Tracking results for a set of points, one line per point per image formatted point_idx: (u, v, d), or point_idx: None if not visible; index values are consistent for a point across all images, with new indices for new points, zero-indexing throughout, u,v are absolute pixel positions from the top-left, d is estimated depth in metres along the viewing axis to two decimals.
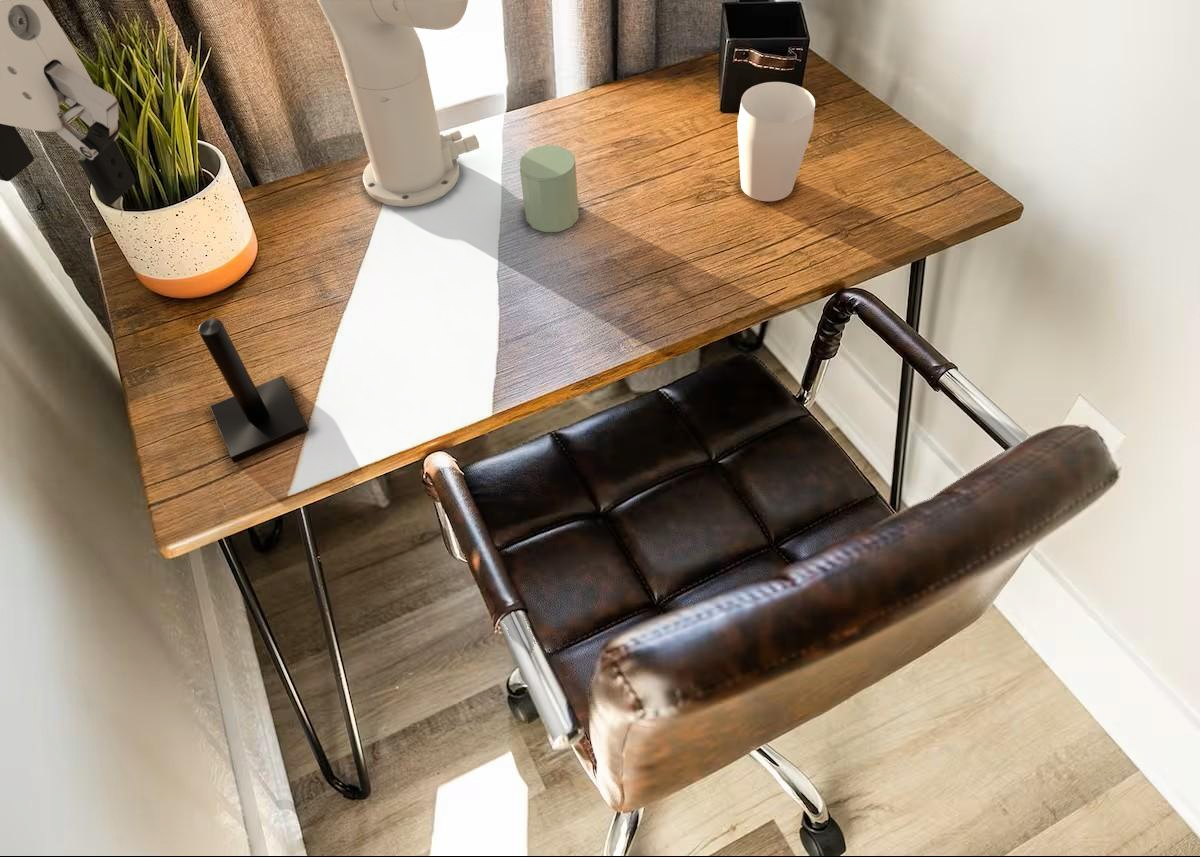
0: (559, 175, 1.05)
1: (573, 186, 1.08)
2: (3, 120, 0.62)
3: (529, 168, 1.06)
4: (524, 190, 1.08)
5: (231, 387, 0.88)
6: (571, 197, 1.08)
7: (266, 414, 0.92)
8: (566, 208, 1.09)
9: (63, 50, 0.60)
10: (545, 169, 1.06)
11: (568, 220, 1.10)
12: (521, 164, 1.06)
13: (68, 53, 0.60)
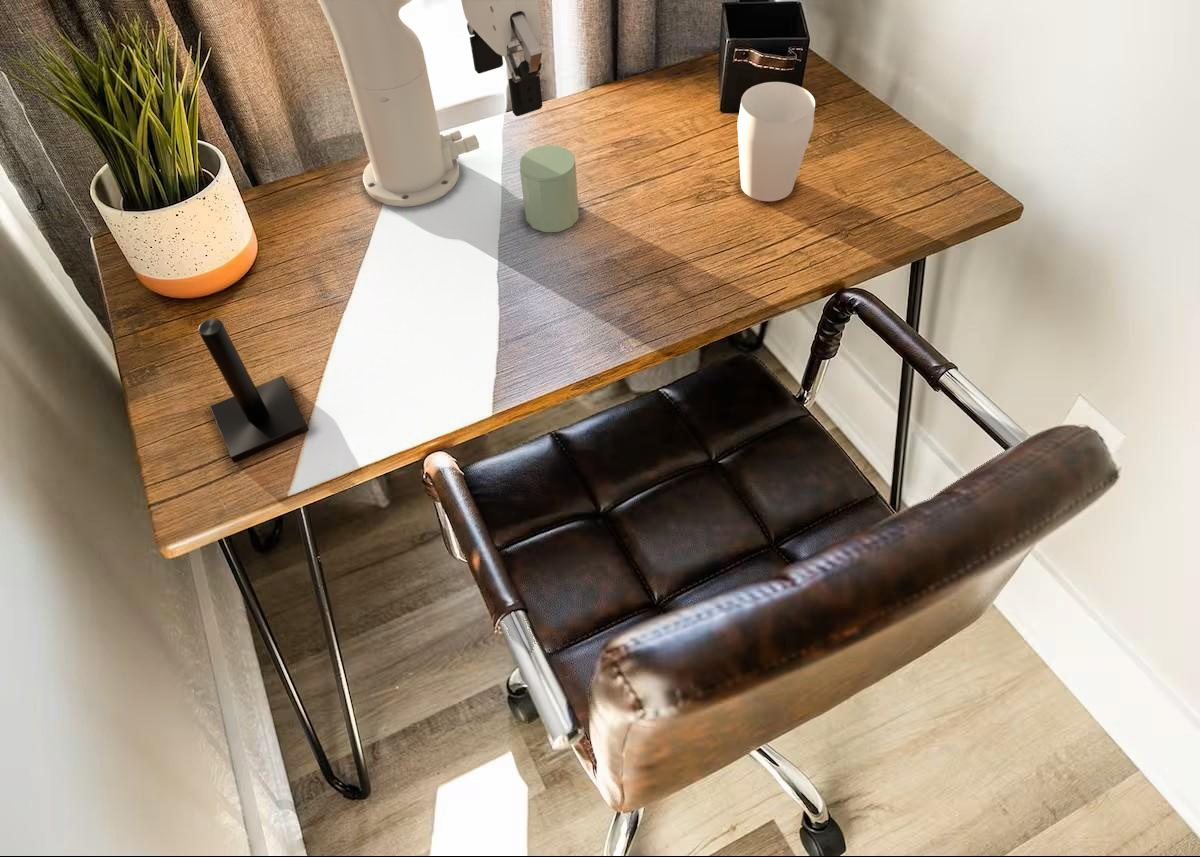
0: (559, 175, 1.05)
1: (573, 186, 1.08)
2: (482, 36, 0.90)
3: (529, 168, 1.06)
4: (524, 190, 1.08)
5: (231, 387, 0.88)
6: (571, 197, 1.08)
7: (266, 414, 0.92)
8: (566, 208, 1.09)
9: (530, 7, 0.85)
10: (545, 169, 1.06)
11: (568, 220, 1.10)
12: (521, 164, 1.06)
13: (533, 9, 0.85)
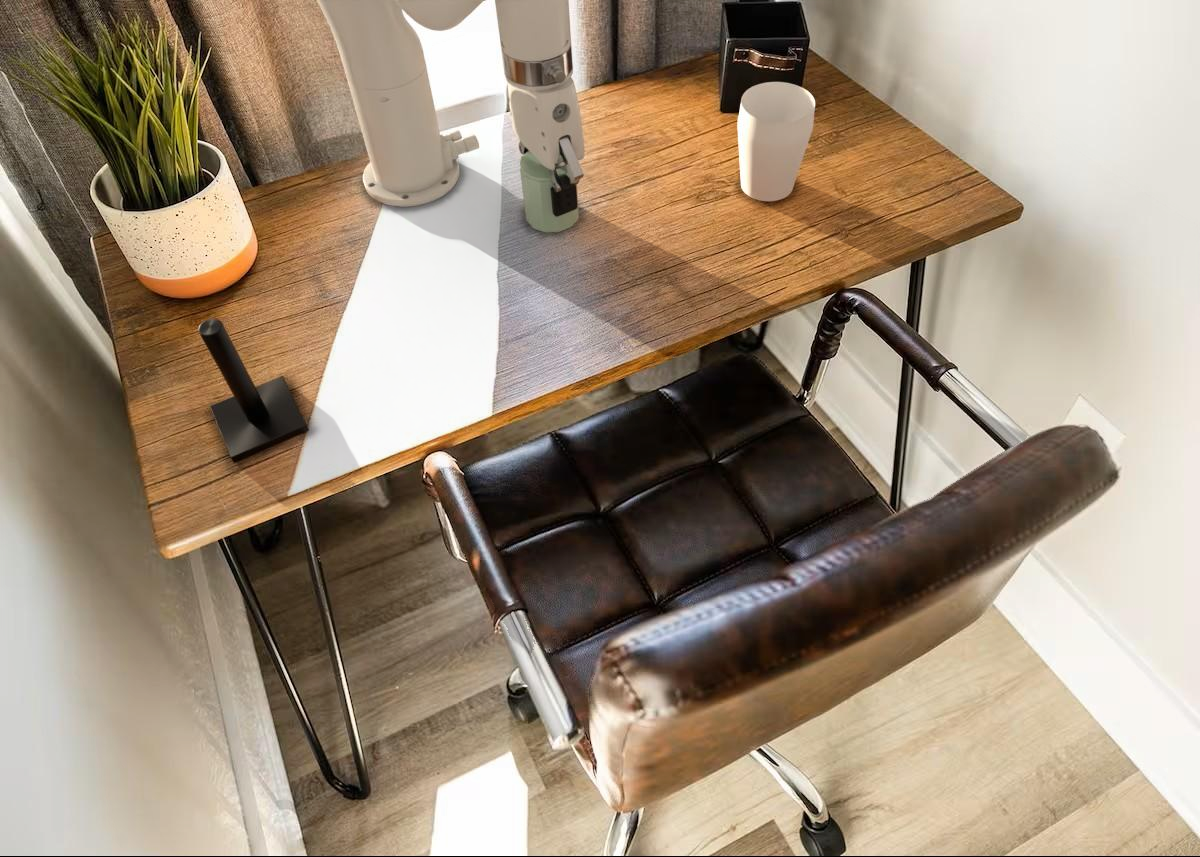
0: (559, 175, 1.05)
1: None
2: (531, 151, 1.04)
3: (529, 168, 1.06)
4: (524, 190, 1.08)
5: (231, 387, 0.88)
6: None
7: (266, 414, 0.92)
8: None
9: (575, 130, 0.99)
10: (545, 169, 1.06)
11: (568, 220, 1.10)
12: (521, 164, 1.06)
13: (577, 132, 1.00)
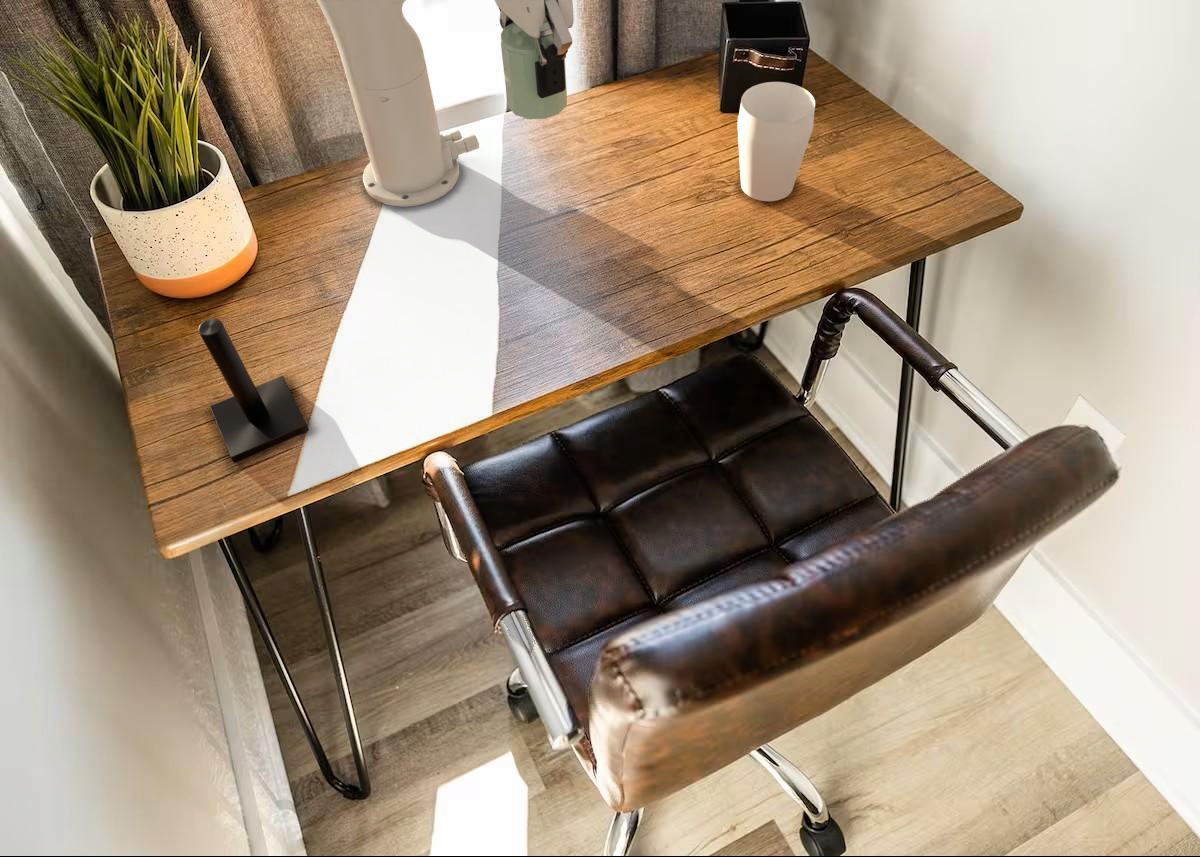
0: (545, 47, 0.93)
1: None
2: (513, 18, 0.92)
3: (511, 40, 0.94)
4: (505, 68, 0.96)
5: (231, 387, 0.88)
6: None
7: (266, 414, 0.92)
8: None
9: None
10: (529, 41, 0.93)
11: (555, 105, 0.98)
12: (502, 37, 0.94)
13: None
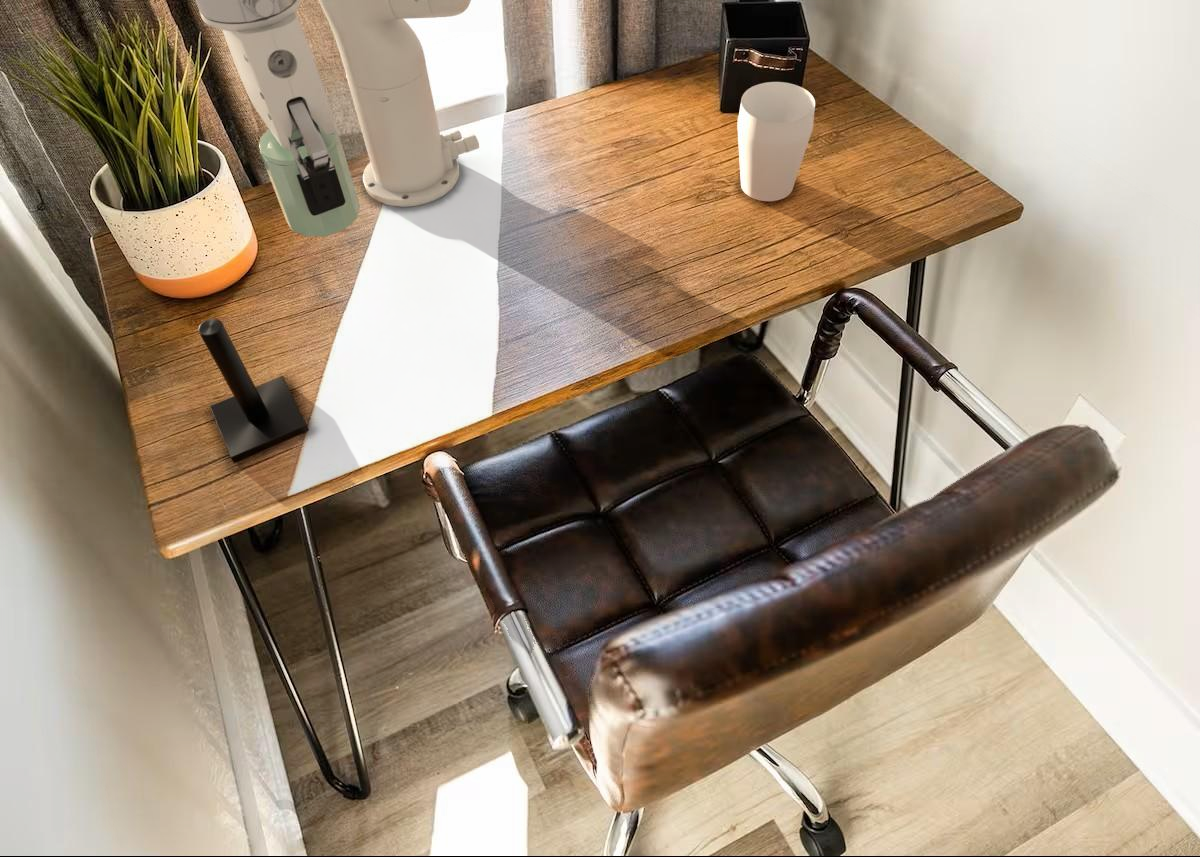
0: None
1: (338, 173, 0.78)
2: (265, 123, 0.74)
3: (270, 148, 0.76)
4: (271, 179, 0.78)
5: (231, 387, 0.88)
6: None
7: (266, 414, 0.92)
8: None
9: (311, 91, 0.69)
10: None
11: (338, 220, 0.80)
12: (261, 142, 0.76)
13: (316, 94, 0.70)
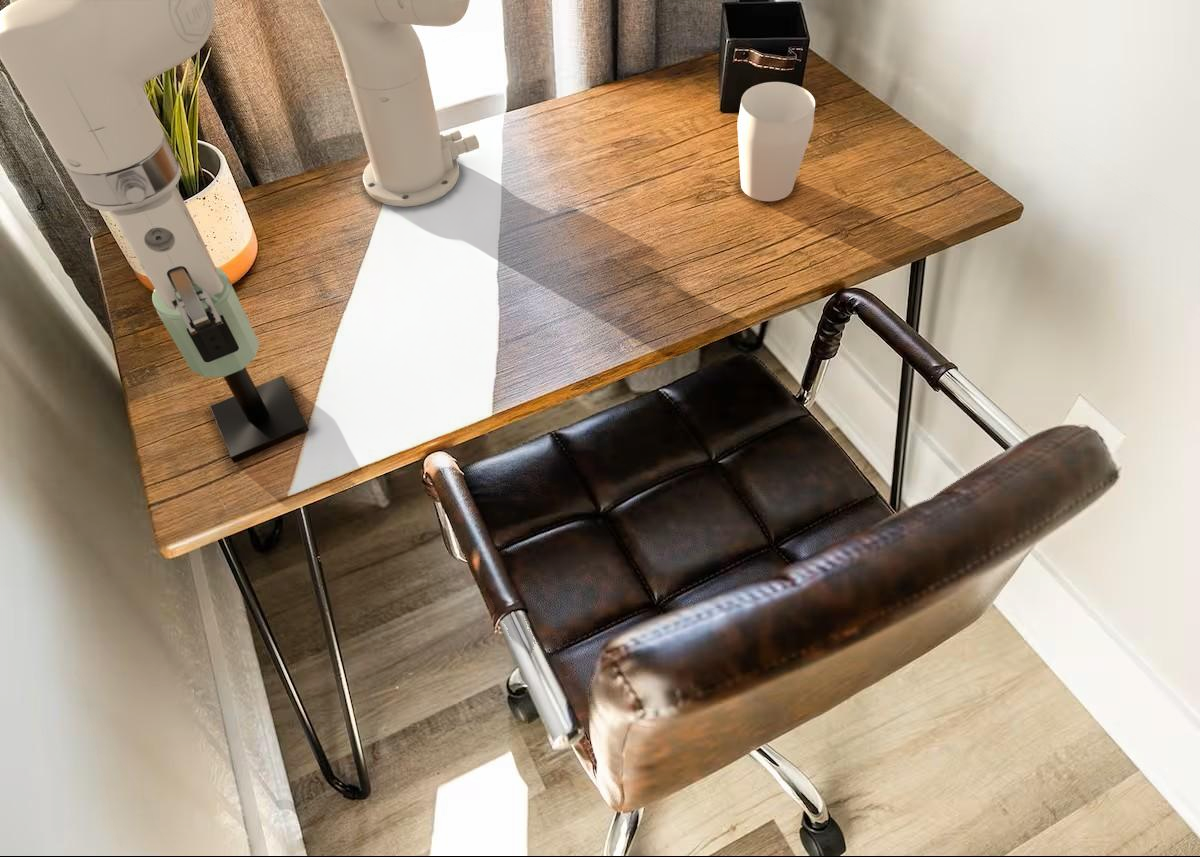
0: None
1: (230, 321, 0.80)
2: None
3: (162, 300, 0.78)
4: None
5: (231, 387, 0.88)
6: None
7: (266, 414, 0.92)
8: None
9: (192, 260, 0.72)
10: None
11: (234, 362, 0.83)
12: (154, 293, 0.79)
13: (197, 262, 0.72)
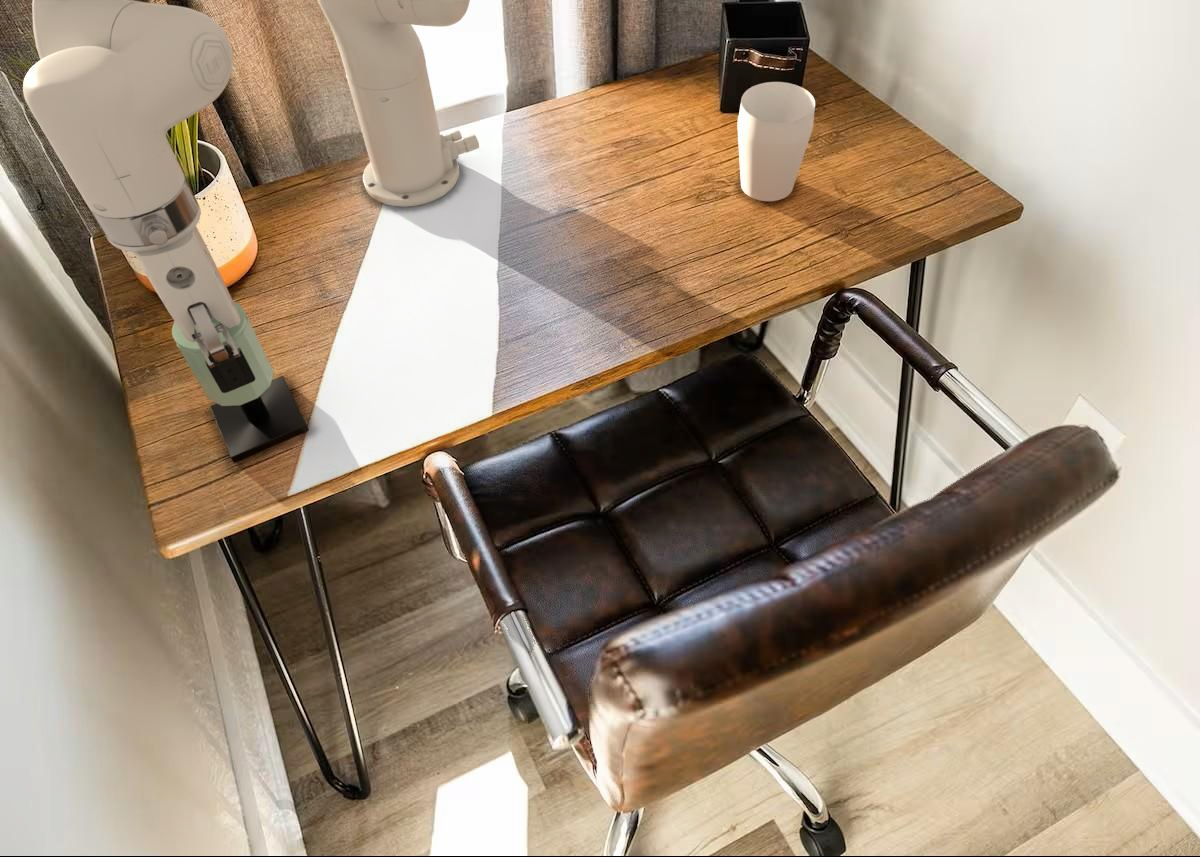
0: None
1: (247, 353, 0.83)
2: None
3: (182, 333, 0.81)
4: None
5: None
6: None
7: (266, 414, 0.92)
8: None
9: (211, 296, 0.75)
10: None
11: (250, 391, 0.86)
12: (174, 327, 0.82)
13: (215, 298, 0.75)
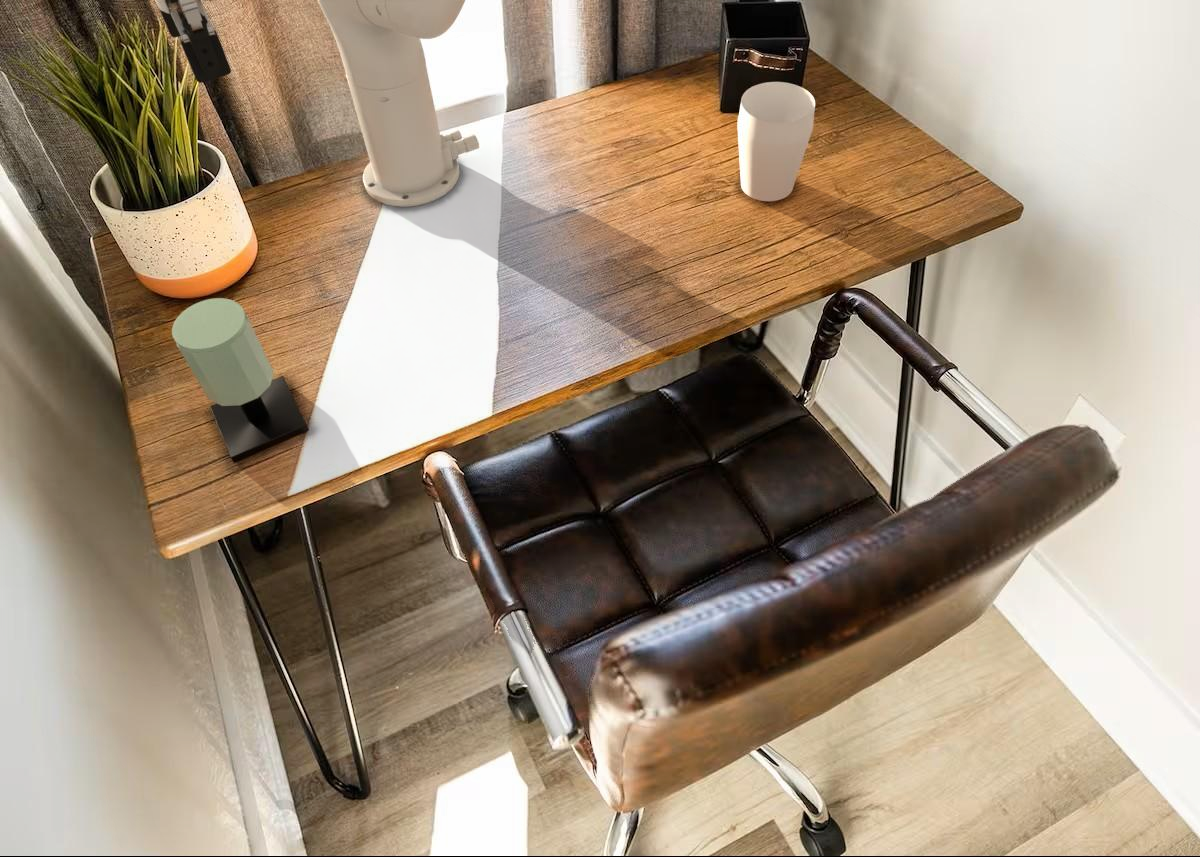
0: (216, 344, 0.80)
1: (247, 353, 0.83)
2: None
3: (182, 333, 0.81)
4: None
5: None
6: (247, 366, 0.84)
7: (266, 414, 0.92)
8: (242, 379, 0.84)
9: None
10: (201, 335, 0.81)
11: (250, 391, 0.86)
12: (174, 327, 0.82)
13: None
